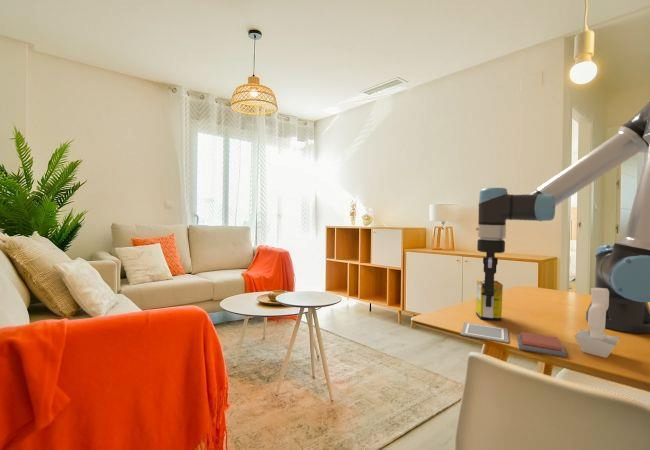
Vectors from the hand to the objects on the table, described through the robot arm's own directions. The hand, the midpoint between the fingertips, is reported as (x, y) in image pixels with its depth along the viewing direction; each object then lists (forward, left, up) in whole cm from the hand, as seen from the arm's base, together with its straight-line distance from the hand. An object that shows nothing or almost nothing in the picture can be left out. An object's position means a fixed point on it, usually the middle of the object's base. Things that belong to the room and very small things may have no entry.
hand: (488, 313), depth 103 cm
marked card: (0, +15, -1) cm, 16 cm away
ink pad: (-12, +20, -1) cm, 23 cm away
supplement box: (0, 0, -1) cm, 1 cm away
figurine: (-23, +17, -1) cm, 28 cm away
